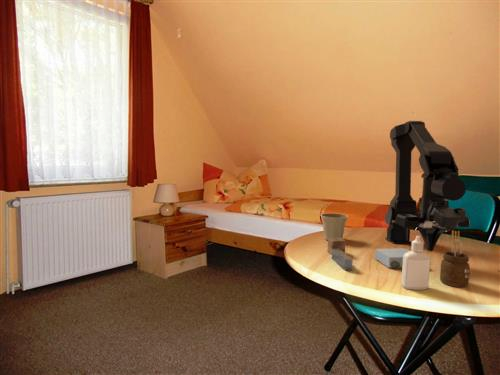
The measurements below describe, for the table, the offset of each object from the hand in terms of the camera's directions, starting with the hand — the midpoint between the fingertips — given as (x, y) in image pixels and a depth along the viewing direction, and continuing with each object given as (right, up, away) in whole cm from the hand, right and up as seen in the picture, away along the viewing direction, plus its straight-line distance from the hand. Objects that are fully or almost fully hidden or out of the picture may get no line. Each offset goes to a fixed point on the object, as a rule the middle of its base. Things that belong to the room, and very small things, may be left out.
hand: (429, 250), depth 98 cm
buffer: (-25, -3, -2) cm, 26 cm away
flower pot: (-21, -1, +25) cm, 33 cm away
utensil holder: (-2, -5, -15) cm, 16 cm away
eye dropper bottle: (-13, -5, -18) cm, 23 cm away
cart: (-9, -3, -1) cm, 10 cm away
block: (-24, -2, +8) cm, 26 cm away
